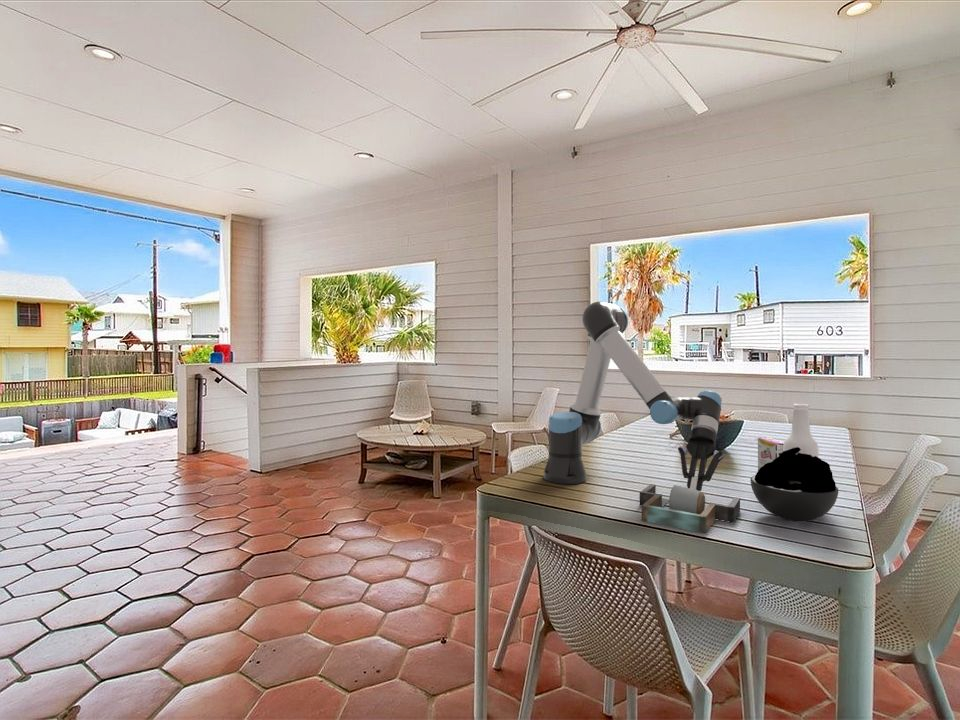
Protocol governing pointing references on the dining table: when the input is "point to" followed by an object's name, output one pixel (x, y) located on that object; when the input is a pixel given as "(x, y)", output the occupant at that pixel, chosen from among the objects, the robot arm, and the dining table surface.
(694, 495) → the grey cylinder
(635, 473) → the dining table surface
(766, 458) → the candy bar box
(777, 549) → the dining table surface
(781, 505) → the bowl of black rocks
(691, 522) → the box
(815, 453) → the alcohol
